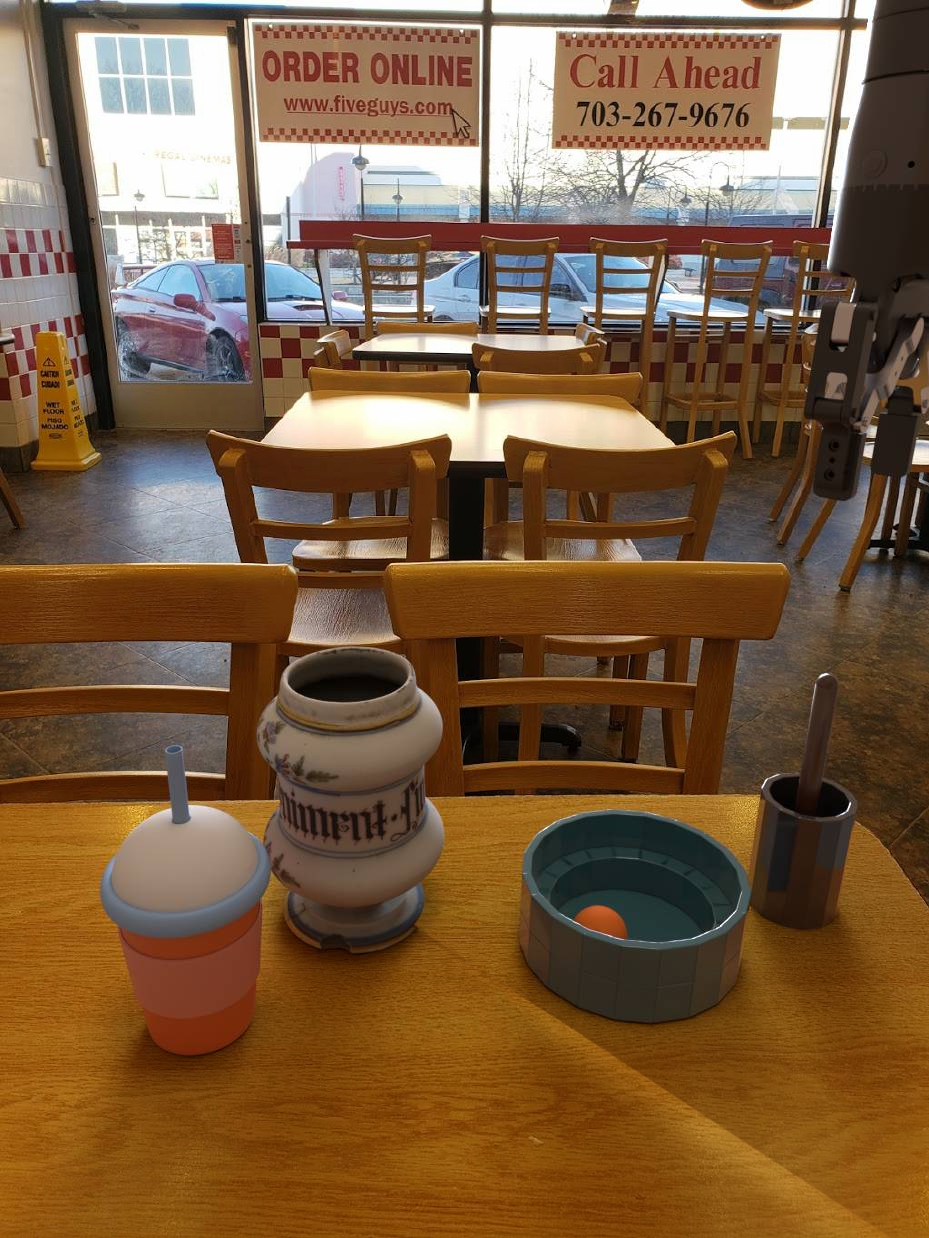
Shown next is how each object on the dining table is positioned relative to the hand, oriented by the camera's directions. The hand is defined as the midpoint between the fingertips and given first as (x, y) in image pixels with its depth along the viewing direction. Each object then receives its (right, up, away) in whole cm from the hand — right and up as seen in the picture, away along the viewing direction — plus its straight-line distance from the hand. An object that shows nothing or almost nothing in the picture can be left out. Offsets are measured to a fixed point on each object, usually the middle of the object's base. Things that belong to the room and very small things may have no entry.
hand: (862, 486), depth 55 cm
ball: (-15, -28, +4) cm, 32 cm away
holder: (0, -28, +11) cm, 30 cm away
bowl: (-13, -29, +7) cm, 33 cm away
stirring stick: (-1, -28, +11) cm, 30 cm away
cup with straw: (-39, -32, +1) cm, 50 cm away
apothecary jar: (-31, -28, +10) cm, 43 cm away
